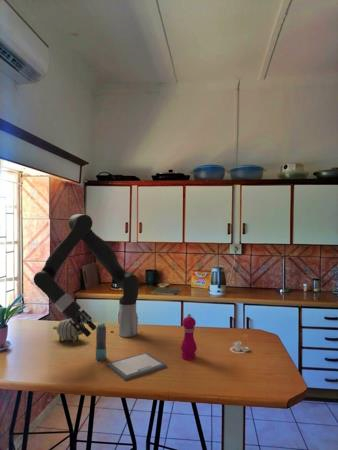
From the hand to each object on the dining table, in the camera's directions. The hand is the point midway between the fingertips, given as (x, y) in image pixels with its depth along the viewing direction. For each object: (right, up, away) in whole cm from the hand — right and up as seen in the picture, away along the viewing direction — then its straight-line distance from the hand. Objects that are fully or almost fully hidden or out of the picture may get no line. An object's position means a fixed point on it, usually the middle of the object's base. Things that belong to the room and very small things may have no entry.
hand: (92, 332), depth 144 cm
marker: (+4, -12, 0) cm, 12 cm away
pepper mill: (+43, -12, +2) cm, 45 cm away
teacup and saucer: (+69, -13, +8) cm, 71 cm away
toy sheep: (-17, -12, +21) cm, 30 cm away
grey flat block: (+21, -12, -8) cm, 25 cm away
